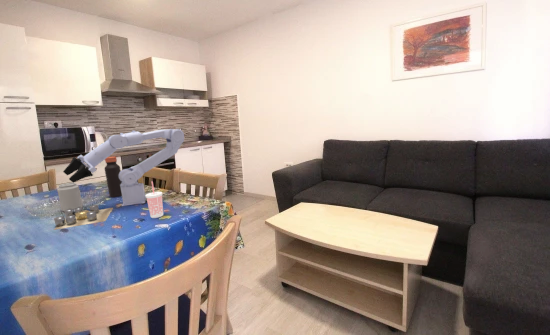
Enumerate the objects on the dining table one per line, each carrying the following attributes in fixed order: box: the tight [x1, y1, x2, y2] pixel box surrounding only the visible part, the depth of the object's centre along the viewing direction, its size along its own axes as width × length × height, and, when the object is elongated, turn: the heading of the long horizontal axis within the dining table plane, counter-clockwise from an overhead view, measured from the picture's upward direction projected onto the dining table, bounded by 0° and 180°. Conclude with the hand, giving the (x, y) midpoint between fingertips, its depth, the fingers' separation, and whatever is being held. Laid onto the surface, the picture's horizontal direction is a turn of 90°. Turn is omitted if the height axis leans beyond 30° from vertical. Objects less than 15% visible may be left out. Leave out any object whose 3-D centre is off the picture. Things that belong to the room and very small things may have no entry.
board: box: [53, 207, 114, 231], centre depth 105 cm, size 16×17×1 cm
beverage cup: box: [145, 180, 164, 219], centre depth 104 cm, size 6×6×14 cm
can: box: [56, 182, 84, 212], centre depth 116 cm, size 8×8×12 cm
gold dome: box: [75, 209, 90, 220], centre depth 105 cm, size 4×4×2 cm
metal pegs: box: [53, 204, 100, 228], centre depth 104 cm, size 13×13×3 cm
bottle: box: [104, 156, 122, 198], centre depth 136 cm, size 7×7×20 cm
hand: (68, 177), depth 107 cm, fingers open, 7 cm apart
